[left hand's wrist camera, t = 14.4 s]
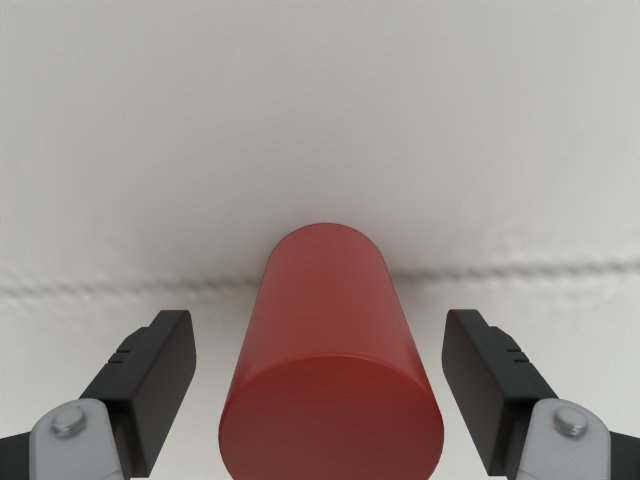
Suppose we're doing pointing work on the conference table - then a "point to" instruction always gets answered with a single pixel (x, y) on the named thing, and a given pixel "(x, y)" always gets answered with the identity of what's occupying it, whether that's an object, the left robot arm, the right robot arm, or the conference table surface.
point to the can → (329, 371)
